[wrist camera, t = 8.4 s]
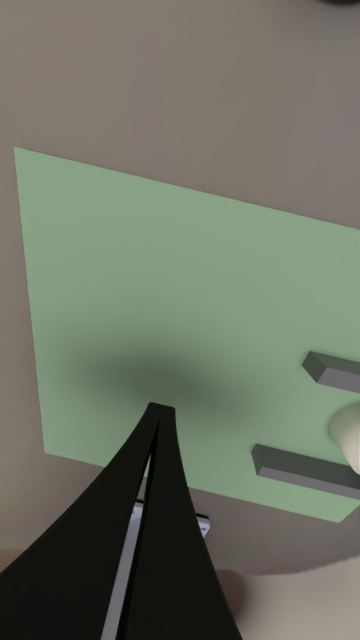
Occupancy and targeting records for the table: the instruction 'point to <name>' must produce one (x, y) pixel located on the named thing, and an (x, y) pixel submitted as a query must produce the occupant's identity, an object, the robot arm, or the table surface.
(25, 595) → the robot arm
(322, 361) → the grey frame
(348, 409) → the stone
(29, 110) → the table surface
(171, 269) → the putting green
